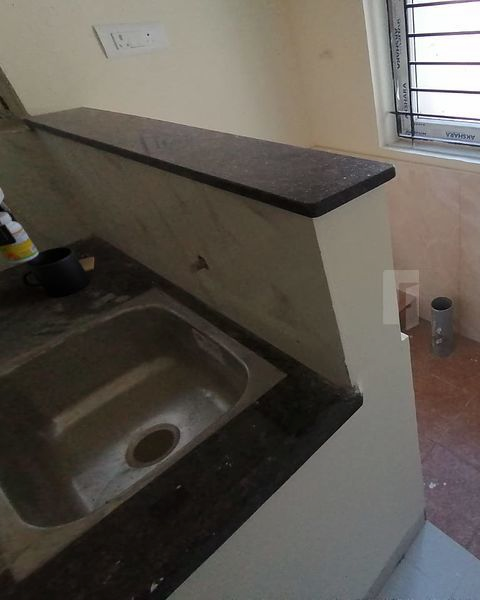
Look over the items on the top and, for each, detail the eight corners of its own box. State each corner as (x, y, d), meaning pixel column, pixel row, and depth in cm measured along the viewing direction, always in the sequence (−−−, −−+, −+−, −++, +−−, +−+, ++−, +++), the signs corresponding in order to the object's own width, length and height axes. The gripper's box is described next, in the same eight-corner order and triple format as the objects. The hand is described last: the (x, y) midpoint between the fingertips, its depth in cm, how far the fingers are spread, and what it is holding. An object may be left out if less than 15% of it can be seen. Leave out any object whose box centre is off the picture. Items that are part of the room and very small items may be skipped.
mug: (34, 288, 99) (12, 258, 94) (89, 272, 105) (71, 243, 100) (34, 306, 93) (10, 275, 88) (92, 288, 99) (73, 257, 94)
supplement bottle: (2, 261, 83) (-29, 219, 77) (30, 249, 87) (2, 208, 81) (17, 266, 81) (-14, 223, 75) (44, 254, 85) (17, 212, 79)
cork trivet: (63, 277, 104) (61, 275, 103) (65, 265, 108) (64, 263, 108) (93, 269, 106) (92, 267, 106) (94, 258, 111) (93, 256, 111)
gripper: (-64, 140, 74) (-3, 226, 85) (-100, 165, 62) (-24, 261, 73) (-14, 135, 77) (39, 218, 88) (-40, 157, 65) (25, 251, 76)
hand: (9, 237), depth 81 cm, fingers closed on supplement bottle, 5 cm apart
